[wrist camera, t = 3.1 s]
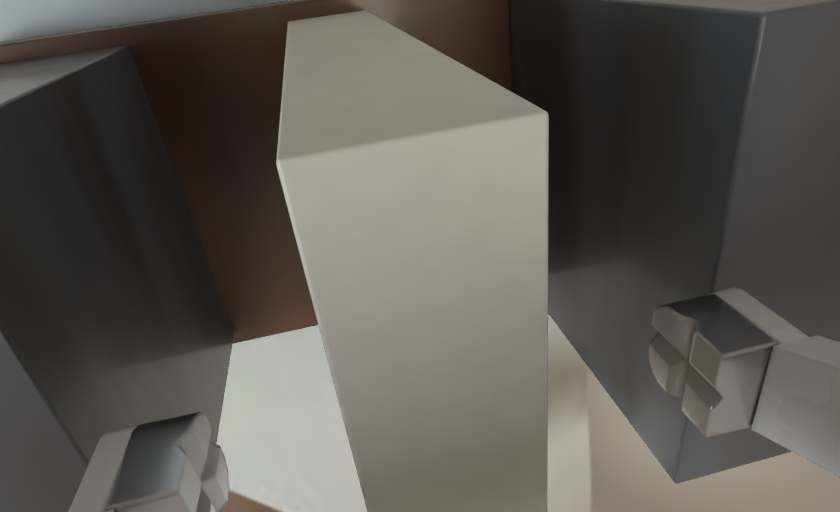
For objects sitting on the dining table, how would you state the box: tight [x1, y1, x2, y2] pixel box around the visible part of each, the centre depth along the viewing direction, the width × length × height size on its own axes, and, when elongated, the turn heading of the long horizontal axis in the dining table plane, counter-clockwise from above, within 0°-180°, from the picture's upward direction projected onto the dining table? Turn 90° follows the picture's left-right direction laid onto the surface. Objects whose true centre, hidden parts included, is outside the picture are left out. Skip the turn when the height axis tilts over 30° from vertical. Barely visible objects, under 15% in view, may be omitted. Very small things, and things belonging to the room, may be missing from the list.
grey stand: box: [0, 0, 840, 512], centre depth 15 cm, size 20×12×12 cm, turn 97°
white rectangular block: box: [276, 10, 549, 512], centre depth 13 cm, size 2×11×14 cm, turn 7°
